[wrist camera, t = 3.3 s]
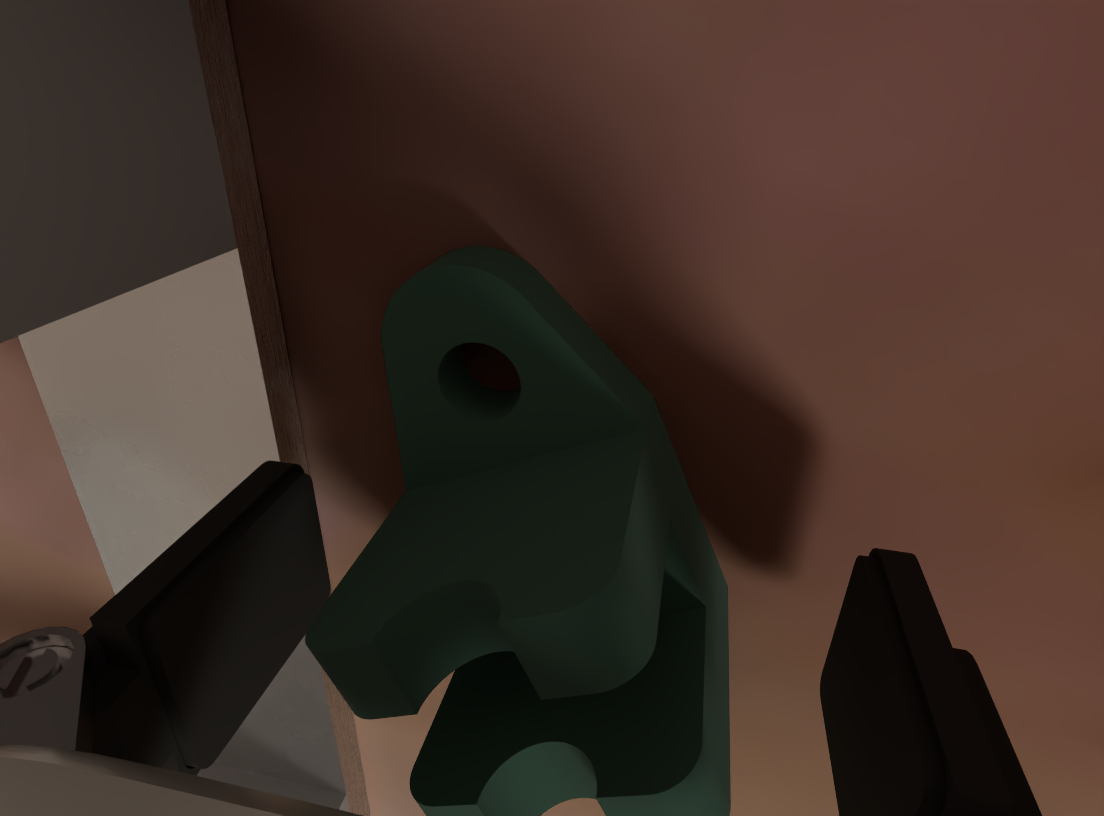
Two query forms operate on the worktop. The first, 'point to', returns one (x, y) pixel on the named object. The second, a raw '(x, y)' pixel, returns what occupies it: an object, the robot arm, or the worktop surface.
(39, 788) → the robot arm
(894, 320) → the worktop surface
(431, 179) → the worktop surface
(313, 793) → the block
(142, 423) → the rail
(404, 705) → the mount
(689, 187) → the worktop surface
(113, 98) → the block
